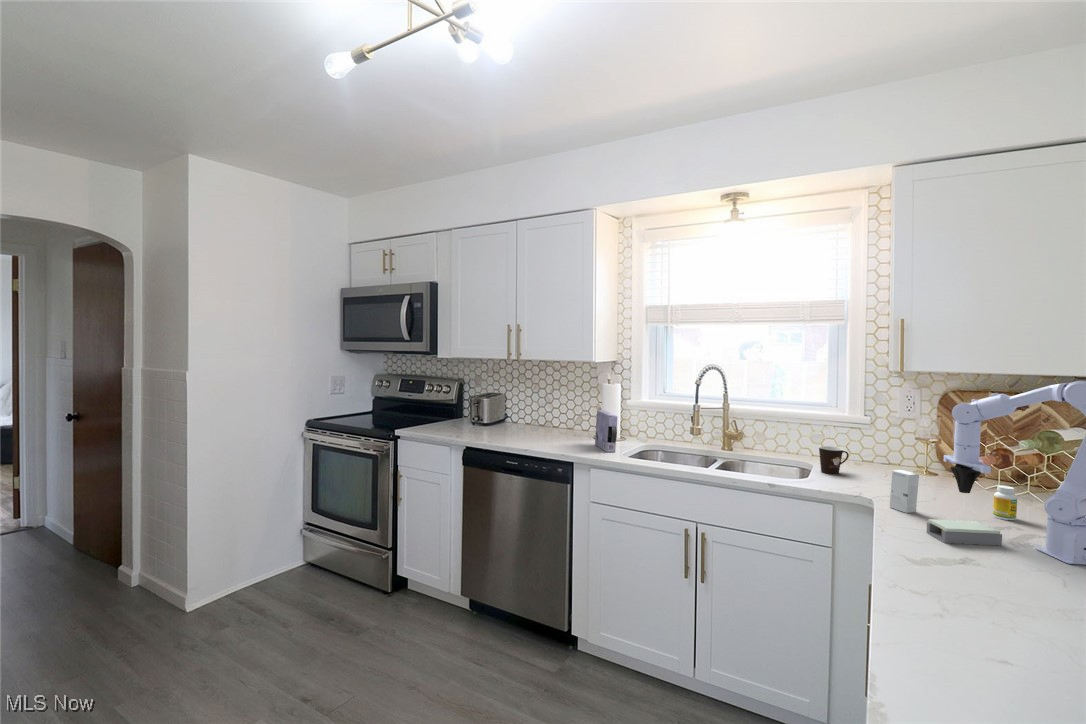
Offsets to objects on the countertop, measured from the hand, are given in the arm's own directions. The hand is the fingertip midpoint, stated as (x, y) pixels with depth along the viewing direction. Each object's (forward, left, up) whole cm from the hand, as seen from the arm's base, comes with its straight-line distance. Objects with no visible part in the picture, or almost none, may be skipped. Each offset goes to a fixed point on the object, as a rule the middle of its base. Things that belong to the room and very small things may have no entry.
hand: (964, 492), depth 149 cm
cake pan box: (+96, +98, -11) cm, 138 cm away
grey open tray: (-9, +6, -10) cm, 15 cm away
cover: (-9, +6, -7) cm, 13 cm away
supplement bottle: (+12, -20, -11) cm, 26 cm away
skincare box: (+16, +7, -11) cm, 20 cm away
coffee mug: (+64, +7, -11) cm, 65 cm away
